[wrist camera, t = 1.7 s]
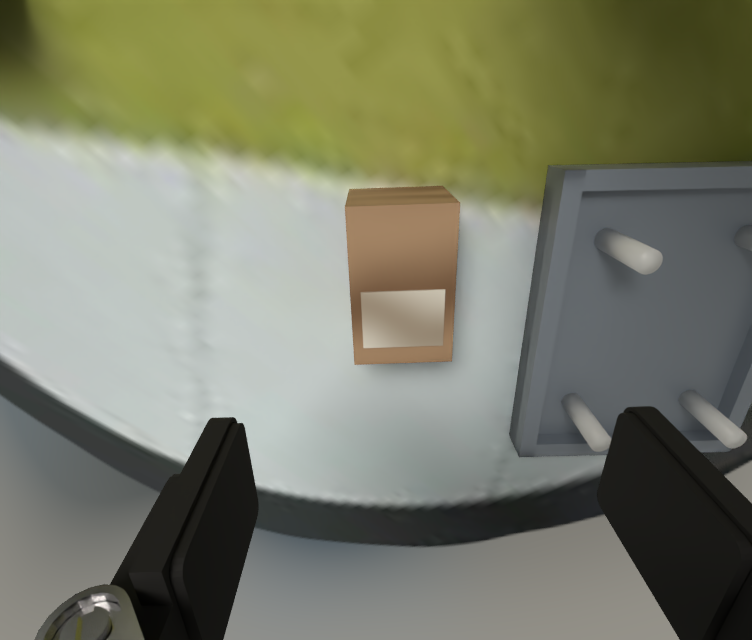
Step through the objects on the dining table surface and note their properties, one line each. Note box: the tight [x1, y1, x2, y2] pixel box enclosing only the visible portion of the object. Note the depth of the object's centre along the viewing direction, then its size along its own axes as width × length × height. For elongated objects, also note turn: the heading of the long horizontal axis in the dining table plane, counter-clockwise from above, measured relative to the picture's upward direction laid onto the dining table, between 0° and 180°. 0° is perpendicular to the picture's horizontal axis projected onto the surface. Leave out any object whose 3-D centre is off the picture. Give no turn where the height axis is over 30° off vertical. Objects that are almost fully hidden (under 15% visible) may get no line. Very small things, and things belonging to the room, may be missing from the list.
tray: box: [509, 161, 752, 457], centre depth 24 cm, size 18×14×5 cm
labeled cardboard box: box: [345, 186, 460, 365], centre depth 23 cm, size 8×5×5 cm, turn 2°
